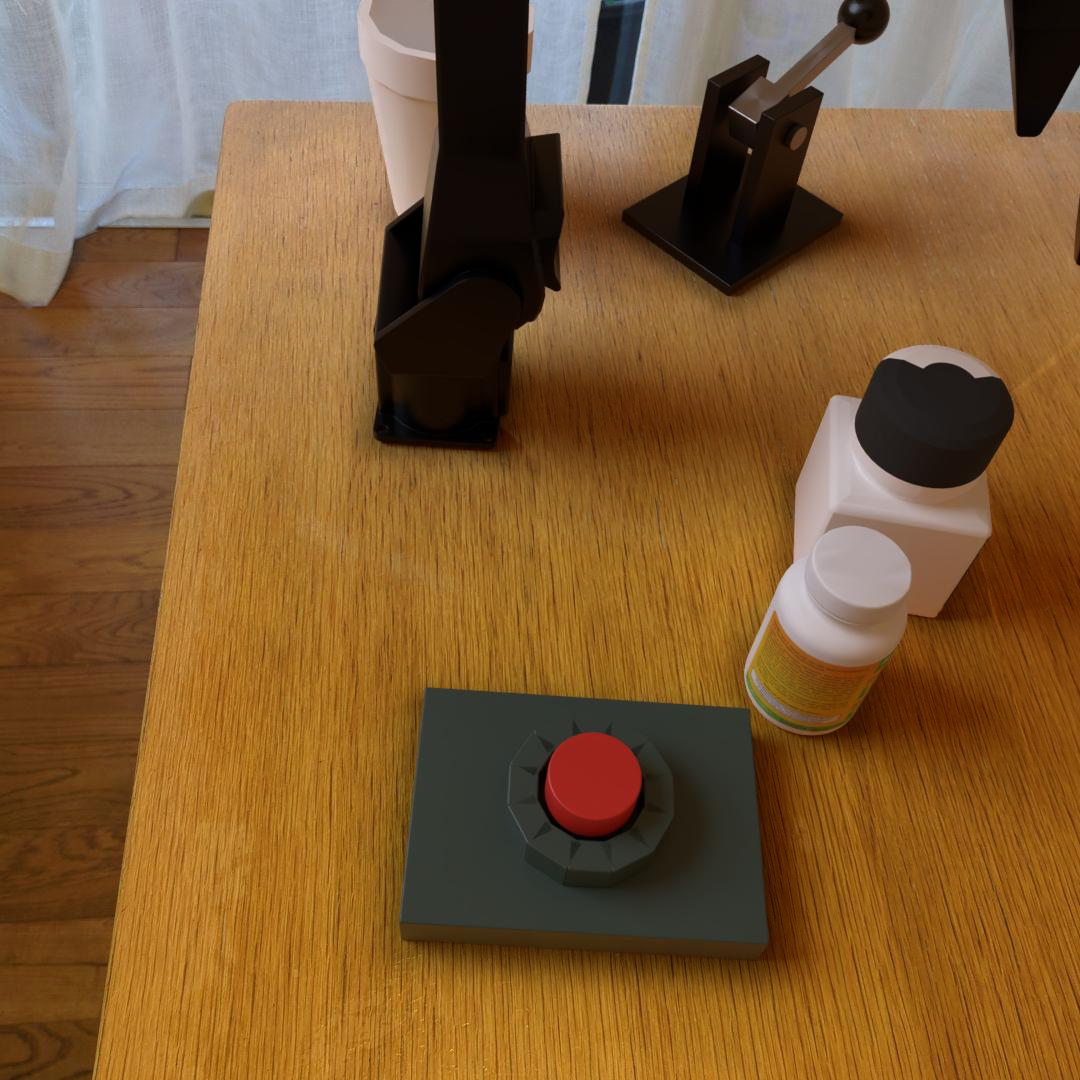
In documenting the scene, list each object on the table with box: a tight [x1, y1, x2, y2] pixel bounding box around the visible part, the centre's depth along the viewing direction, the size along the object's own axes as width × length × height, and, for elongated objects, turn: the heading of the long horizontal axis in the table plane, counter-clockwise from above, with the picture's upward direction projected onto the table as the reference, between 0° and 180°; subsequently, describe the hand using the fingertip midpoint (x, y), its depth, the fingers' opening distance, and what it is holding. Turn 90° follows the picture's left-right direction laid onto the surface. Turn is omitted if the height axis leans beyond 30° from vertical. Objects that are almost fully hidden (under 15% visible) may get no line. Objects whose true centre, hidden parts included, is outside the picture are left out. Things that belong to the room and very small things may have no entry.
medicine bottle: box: [793, 344, 1015, 618], centre depth 51 cm, size 7×7×12 cm
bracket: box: [621, 53, 844, 297], centre depth 67 cm, size 11×9×10 cm
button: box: [545, 733, 642, 837], centre depth 43 cm, size 4×4×2 cm
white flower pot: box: [356, 0, 536, 217], centre depth 64 cm, size 10×9×13 cm
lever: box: [728, 0, 891, 150], centre depth 65 cm, size 12×3×3 cm, turn 133°
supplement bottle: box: [743, 526, 913, 736], centre depth 47 cm, size 5×5×10 cm
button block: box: [398, 686, 770, 961], centre depth 45 cm, size 14×10×4 cm
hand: (1055, 195), depth 50 cm, fingers open, 9 cm apart
